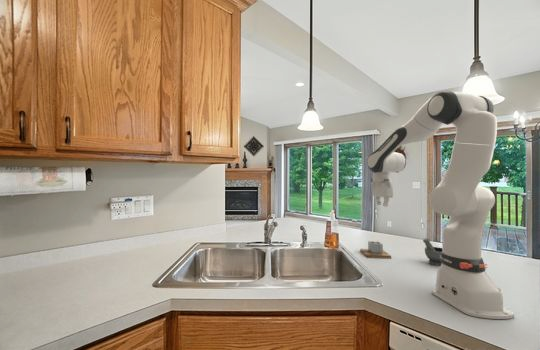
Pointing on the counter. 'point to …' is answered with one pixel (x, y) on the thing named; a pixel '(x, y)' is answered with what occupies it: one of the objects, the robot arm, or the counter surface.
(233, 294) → the counter surface
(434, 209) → the robot arm
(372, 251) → the square sleeve
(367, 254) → the post block
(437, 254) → the mortar and pestle
